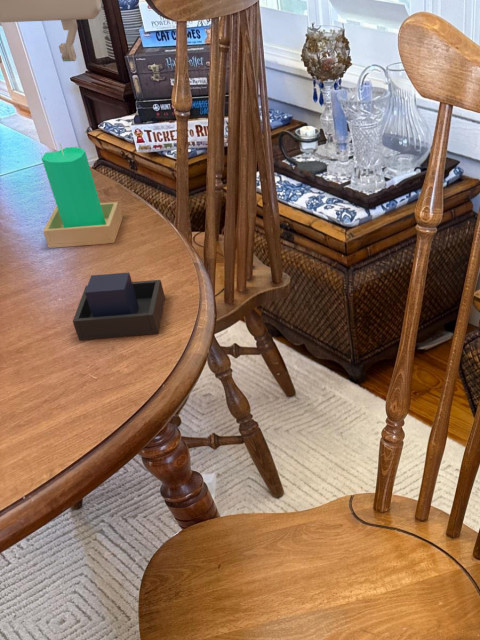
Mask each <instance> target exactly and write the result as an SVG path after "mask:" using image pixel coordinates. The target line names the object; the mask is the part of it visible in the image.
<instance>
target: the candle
mask: <svg viewBox="0 0 480 640" xmlns="http://www.w3.org/2000/svg"><path fill="white" fill-rule="evenodd" d="M58 144H59V148H60V149H59V150H57V151H50V152H44V154H43V156H42V157H41V161H42V165H43V167H44V171H45V173H46V176H47V180H48V182H49V186H50V189H51V192H52V196H53V198H54V201H55V204H56V206H57V207H58V210H59V214H60V217H61V220H62V223H63V226H64V228H69V227H82V226H95V225H106V222H105V218H104V215H103V212H102V208H101V205H100V203H101V201H100V198H99V195H98V191H97V188H96V184H95V180H94V177H93V173H92V170H91V167H90V163H89V160H88V156H87V153H86V150H85V149H84V148H82V147H78V146H69V147H64V148H62V144H61V142H60V141H59V142H58Z"/></svg>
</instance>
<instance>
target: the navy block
mask: <svg viewBox="0 0 480 640" xmlns="http://www.w3.org/2000/svg"><path fill="white" fill-rule="evenodd" d="M132 282H133V281H132V278H131V274H130V272H129V271H127V272H117V273H106V274H92V275H90V278H89V280H88V284H87V285H86V286H87V288H86V291H85V294H86V297H87V300H88V303H89V306H90V309H91V313H92V316H93V317H103V316H115V315H126V314H137V312H138V308H139V306H138V302H137V298H136V295H135V291H134V288H133V284H132Z"/></svg>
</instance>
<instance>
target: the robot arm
mask: <svg viewBox="0 0 480 640" xmlns="http://www.w3.org/2000/svg"><path fill="white" fill-rule="evenodd" d="M101 10H102V1H101V0H0V23H24V22H25V23H27V22H49V21H51V22H52V21H60V22H61V26H62V30H63V31H67V36H66V40H65V42H62V43H60V45H58V48H59V53H60V54H61V60H62V62H76V60H77V54H76V50H75V46H74V43H75V40H76V36H77V32H78V27H79V26H78V22H77V20H94V19H95V18H97V17H98V15H99V14H100V12H101ZM2 62H3V59H2V56H1V55H0V64H1V63H2Z"/></svg>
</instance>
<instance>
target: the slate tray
mask: <svg viewBox="0 0 480 640" xmlns="http://www.w3.org/2000/svg"><path fill="white" fill-rule="evenodd" d="M132 284H133V288H134V291H135V295H136V298H137V302H138V306H139V308H138V312H137V314H126V315H115V316H103V317H93V316H92V313H91V309H90V306H89V303H88V300H87V297H86V294H85V291H86V288H87V286H88V285H85V287H84V289H83V293H82V295H81V298H80V300H79V303H78V306H77V309H76V311H75V313H74V316H73V319H72V324H73V327H74V330H75V332H76V336H77V338H78V341H89V340H100V339H112V338H113V339H114V338H122V337H123V338H124V337H134V336H146V335H156V334H159V331H160V326H161V320H162V315H163V312H164V311H163V310H164V307H165V306H164V305H165V300H166V296H165V291H164V288H163V284H162V280H161V279H151V280H140V281H139V280H138V281H132Z"/></svg>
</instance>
